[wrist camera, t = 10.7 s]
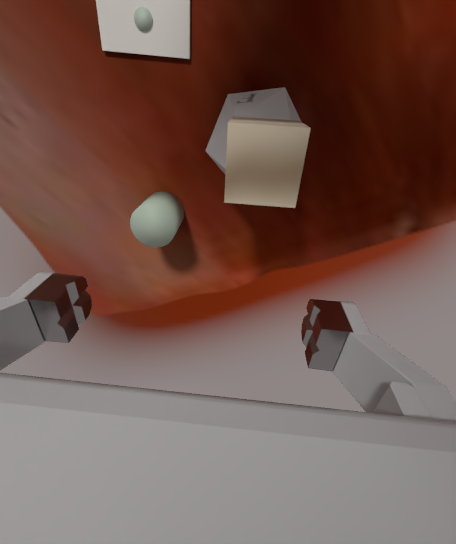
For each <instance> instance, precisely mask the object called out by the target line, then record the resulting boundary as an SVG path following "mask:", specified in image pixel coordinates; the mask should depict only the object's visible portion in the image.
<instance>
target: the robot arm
mask: <svg viewBox="0 0 456 544" xmlns="http://www.w3.org/2000/svg"><path fill="white" fill-rule="evenodd" d="M87 287H88V284H87V281H86V278H84V277H83V276H76V275H68V274H60V273H50V272H39V273H37V274H36V275H35V276H34V277H32V278H31V279H30V280H28V281H27V282H26V283H25V284H24V285H22V286H21V287H20V288H19V289H17V290H16V291H15V292H14V293H12V294H11V295H10V296H9V297H8V298H5V297H2V298H0V370H1V369H3V368H5V367H6V366H8V365H9V364H11V363H12V362H14V361H16V360H17V359H19V358H20V357H22V356H23V355H25V354H27V353H28V352H30V351H31V350H33V349H35V348H36V347H37V346H39V345H41V344H42V343H44V341H51V342H65V343H69V342H70V341H71V339H72V338H73V337H74V335H75V334H76V333H77V331H78V330H79V327H78V324H80V323H82V322H83V321H85V320H86V319H87V318H88V316H89V314H90V311H91V308H92V300H91V296H90V295H89V294H88V293H87V292H86V291H85V290H86V289H87ZM307 312H308V315H306V316H305V317H304V319H303V323H302V331H301V333H302V341H303V343H304V345H305V346H306V351H305V355H306V360H307V365H308V368H312V369H319V370H327V371H333V373H334V374H335V375H336V377H337V378H338V379H339V380H340V381H341V383H342V384H343V385H344V386H345V387H346V389H347V390H348V391H349V392H350V393H351V394H352V396H353V397H354V398H355V399H356V400H357V401H358V403H359V404H360V405H361V406H362V407H363V409H364V410H365V411H366V412H358V411H348V410H339V409H330V408H321V407H311V406H302V405H293V404H282V403H274V402H265V401H256V400H247V399H237V398H228V397H219V396H210V395H200V394H192V393H183V392H173V391H163V390H155V389H145V388H135V387H127V386H118V385H108V384H99V383H90V382H80V381H71V380H61V379H53V378H43V377H33V376H25V375H16V374H7V373H0V544H456V401H455V399H454V398H453V396H452V395H451V393H450V392H449V390H448V389H447V388H446V386H445V385H443V384H442V383H440V382H439V381H438V380H436V379H435V378H434V377H432V376H431V375H430V374H428V373H427V372H425V371H424V370H423V369H421V368H420V367H418V366H417V365H416V364H414V363H413V362H412V361H410V360H409V359H408V358H406V357H405V356H404V355H402V354H401V353H399V352H398V351H397V350H395V349H394V348H392V347H391V346H390V345H388V344H387V343H386V342H384V341H383V340H382V339H380V338H379V337H377V336H376V335H371V334H370V332H369V330H368V328H367V326H366V324H365V322H364V320H363V318H362V316H361V314H360V312H359V310H358V308H357V307H356V304H355V303H353V302H343V301H338V302H337V301H326V300H315V299H310V300H309V302H308V305H307Z"/></svg>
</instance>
